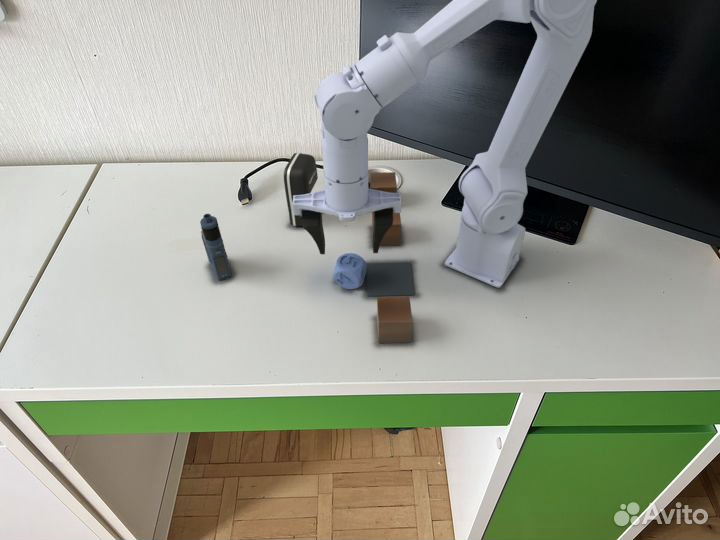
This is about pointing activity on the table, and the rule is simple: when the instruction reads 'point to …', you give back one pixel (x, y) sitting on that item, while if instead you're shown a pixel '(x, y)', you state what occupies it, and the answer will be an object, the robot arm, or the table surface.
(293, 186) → the battery charger
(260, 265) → the table surface
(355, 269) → the decorative dice
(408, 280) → the pad
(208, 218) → the vaping device
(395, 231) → the block mid
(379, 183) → the block far
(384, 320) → the block near
